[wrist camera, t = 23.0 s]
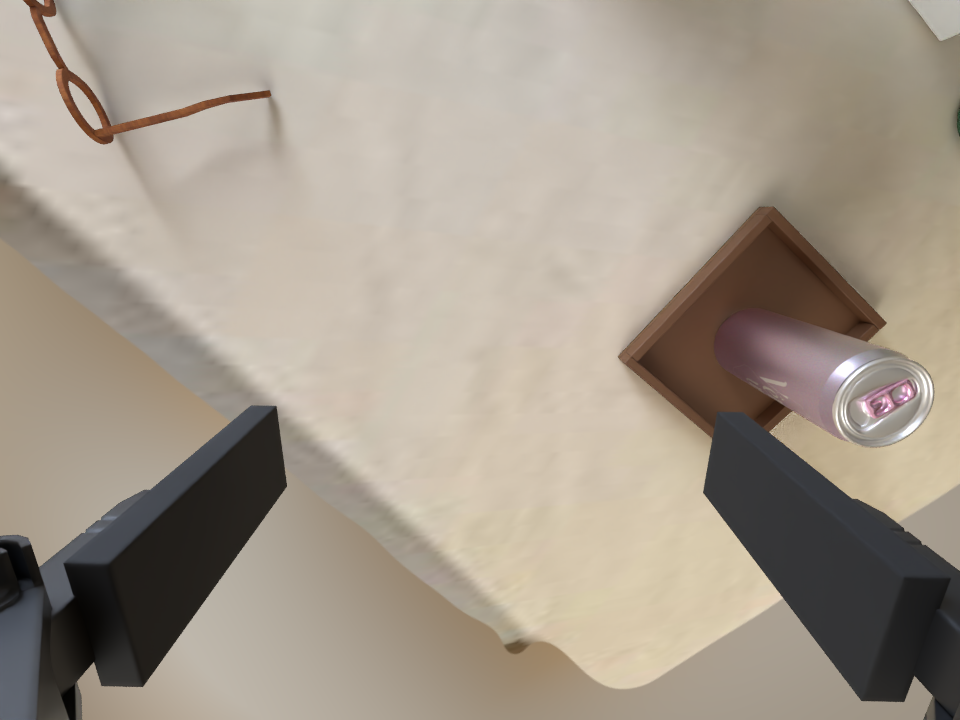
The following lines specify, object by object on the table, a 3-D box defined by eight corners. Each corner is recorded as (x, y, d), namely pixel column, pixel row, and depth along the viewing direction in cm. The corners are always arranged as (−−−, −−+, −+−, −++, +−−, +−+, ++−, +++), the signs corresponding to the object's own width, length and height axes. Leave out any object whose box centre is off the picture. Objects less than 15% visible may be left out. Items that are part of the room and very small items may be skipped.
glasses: (31, -43, 34) (-42, -87, 29) (201, -104, 33) (155, -159, 28) (120, 150, 37) (68, 140, 33) (275, 100, 36) (245, 82, 32)
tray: (759, 206, 39) (773, 206, 37) (868, 318, 42) (887, 323, 40) (617, 356, 43) (624, 363, 41) (727, 450, 45) (738, 460, 43)
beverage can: (789, 348, 42) (953, 416, 28) (728, 384, 43) (855, 468, 29) (761, 293, 41) (918, 334, 26) (698, 331, 41) (816, 391, 27)
